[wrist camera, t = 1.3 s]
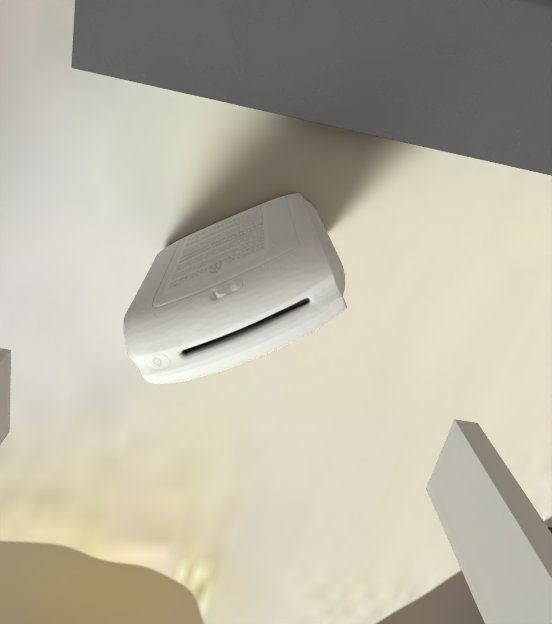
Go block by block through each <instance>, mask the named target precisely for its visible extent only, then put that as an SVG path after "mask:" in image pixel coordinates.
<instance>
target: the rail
mask: <svg viewBox="0 0 552 624" xmlns="http://www.w3.org/2000/svg"><path fill="white" fill-rule="evenodd" d="M72 68H75V69H80V70H84V71H88V72H93V73H97V74H102V75H106V76H111V77H115V78H120V79H124V80H129V81H133V82H137V83H142V84H146V85H151V86H155V87H160V88H164V89H169V90H173V91H178V92H182V93H187V94H191V95H195V96H200V97H204V98H209V99H213V100H218V101H222V102H227V103H231V104H236V105H240V106H244V107H249V108H253V109H258V110H262V111H267V112H271V113H276V114H280V115H285V116H289V117H294V118H298V119H302V120H307V121H311V122H316V123H320V124H325V125H329V126H334V127H338V128H343V129H347V130H351V131H356V132H360V133H365V134H369V135H374V136H378V137H383V138H387V139H392V140H396V141H400V142H405V143H409V144H414V145H418V146H423V147H427V148H432V149H436V150H441V151H445V152H450V153H454V154H458V155H463V156H467V157H472V158H476V159H481V160H485V161H490V162H494V163H499V164H503V165H507V166H512V167H516V168H521V169H525V170H530V171H534V172H539V173H543V174H548V175H552V0H75V15H74V33H73V51H72Z"/></svg>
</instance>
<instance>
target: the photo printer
mask: <svg viewBox="0 0 552 624" xmlns="http://www.w3.org/2000/svg"><path fill="white" fill-rule="evenodd" d="M344 288H345V274H344V269H343V266H342V263H341V261H340V259H339V257H338V255H337V252H336V250H335V248H334V246H333V244H332V242H331V240H330V238H329V235H328V233H327V231H326V229H325V227H324V225H323V223H322V220H321V218H320V216H319V214H318V212H317V211H316V209H315V208H314V206H313V205H312V204H311V203H310V202H309V201H307V200H306V199H304V198H302V195H301V193H294V194H289V195H285V196H282V197H278V198H275V199H273V200H270V201H267V202H265V203H262V204H260V205H257V206H255V207H252V208H250V209H248V210H245V211H243V212H241V213H238V214H236V215H233V216H231V217H229V218H226V219H224V220H222V221H219V222H217V223H215V224H213V225H210V226H208V227H206V228H204V229H201V230H199V231H197V232H195V233H192V234H190V235H188V236H186V237H184V238H182V239H180V240H178V241H176V242H174V243H173V244H171V245H169V246H168V247H166V248H165V249H163V250H162V251H161V252H160V253H158V254H157V256H156V258H155V260H154V262H153V264H152V266H151V268H150V270H149V272H148V273H147V275H146V277H145V279H144V281H143V283H142V285H141V287H140V289H139V290H138V292H137V294H136V296H135V298H134V300H133V302H132V303H131V305H130V307H129V309H128V311H127V312H126V315H125V318H124V327H123V329H124V338H125V343H126V347H127V351H128V354H129V356H130V357H131V359H132V360H133V361H134V362H135V363H136V364H137V366H138V367H139V369H140V371H141V374H142V376H143V377H144V378H145V379H146V380H147V381H149V382H151V383H153V384H166V383H177V382H183V381H187V380H192V379H196V378H200V377H203V376H207V375H211V374H214V373H217V372H220V371H223V370H226V369H229V368H232V367H235V366H238V365H240V364H243V363H246V362H248V361H251V360H253V359H256V358H258V357H261V356H263V355H265V354H268V353H270V352H272V351H275V350H277V349H279V348H281V347H284V346H286V345H288V344H290V343H292V342H294V341H296V340H298V339H300V338H302V337H304V336H306V335H308V334H310V333H312V332H313V331H315V330H317V329H319V328H320V327H322V326H324V325H325V324H327V323H328V322H330V321H331V320H333V319H334V318H335V317H336V316H338V315H339V314H340V313H342V312H343V311H344V310H345V309H346V308H347V305H346V303H345V300H344V298H343V293H344Z"/></svg>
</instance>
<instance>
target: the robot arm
mask: <svg viewBox="0 0 552 624" xmlns="http://www.w3.org/2000/svg"><path fill="white" fill-rule="evenodd" d="M10 374H11V350H7V349H0V444H1V443H2V442H3V440H4V439H5V437H6V436H7V434H8V433H9V426H10ZM426 490H427V492H428V494H429V496H430V499H431V501H432V503H433V506H434V508H435V510H436V512H437V515H438V517H439V519H440V522H441V524H442V526H443V528H444V531H445V533H446V535H447V538H448V540H449V542H450V544H451V547H452V549H453V551H454V554H455V556H456V558H457V560H458V563H459V565H460V567H461V570H462V572H463V574H464V576H465V579H466V581H467V583H468V586H469V588H470V590H471V592H472V595H473V597H474V599H475V602H476V604H477V606H478V608H479V611H480V613H481V615H482V617H483V620H484V622H485V624H552V528H550V527H547V526H546V524H545V523H544V521H543V520H542V518H541V517H540V515H539V514H538V512H537V511H536V509H535V508H534V506H533V505H532V503H531V502H530V500H529V499H528V497H527V496H526V495H525V493H524V492H523V490H522V489H521V487H520V486H519V484H518V483H517V481H516V480H515V478H514V477H513V475H512V474H511V472H510V471H509V469H508V468H507V466H506V465H505V463H504V462H503V460H502V459H501V457H500V456H499V454H498V453H497V451H496V450H495V448H494V447H493V445H492V444H491V442H490V441H489V439H488V438H487V436H486V435H485V433H484V432H483V430H482V429H481V427H480V426H479V424H478V423H474V422H467V421H461V420H455V419H454V422H453V424H452V427H451V429H450V432H449V434H448V436H447V439H446V441H445V444H444V446H443V449H442V451H441V454H440V456H439V458H438V461H437V463H436V466H435V468H434V471H433V473H432V476H431V478H430V480H429V483H428V485H427V488H426Z"/></svg>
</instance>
